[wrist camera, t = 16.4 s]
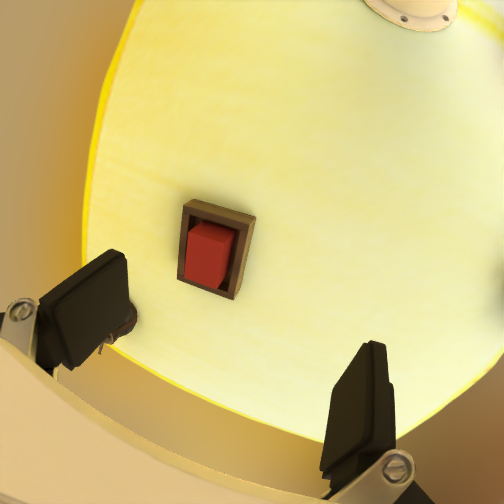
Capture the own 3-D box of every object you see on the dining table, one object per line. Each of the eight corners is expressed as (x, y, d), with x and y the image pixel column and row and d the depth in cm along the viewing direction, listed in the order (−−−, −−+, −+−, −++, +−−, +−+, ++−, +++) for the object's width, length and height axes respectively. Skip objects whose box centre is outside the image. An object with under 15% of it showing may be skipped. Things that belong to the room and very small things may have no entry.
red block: (202, 220, 36) (188, 231, 32) (236, 230, 35) (224, 243, 32) (197, 263, 39) (183, 277, 35) (227, 274, 38) (216, 289, 35)
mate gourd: (137, 295, 47) (102, 328, 38) (146, 328, 50) (116, 362, 41) (108, 287, 49) (74, 317, 40) (118, 319, 52) (88, 349, 43)
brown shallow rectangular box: (193, 198, 36) (183, 204, 33) (256, 216, 34) (249, 224, 32) (185, 269, 41) (176, 279, 39) (240, 289, 40) (233, 300, 37)
